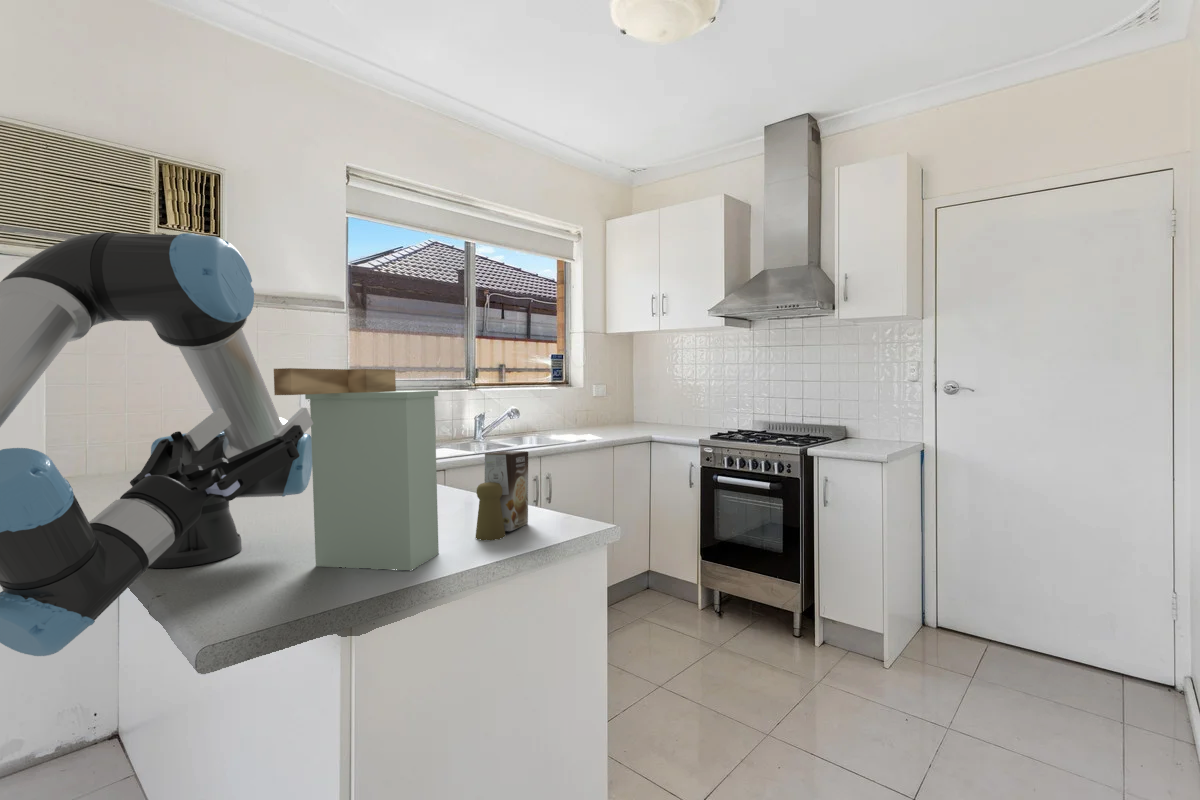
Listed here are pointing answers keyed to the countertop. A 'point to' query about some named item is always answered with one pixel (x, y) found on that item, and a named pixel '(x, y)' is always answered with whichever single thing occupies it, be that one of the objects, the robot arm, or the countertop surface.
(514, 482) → the coffee box
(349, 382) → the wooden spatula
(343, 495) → the sage green shelf box
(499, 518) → the cork
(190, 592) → the countertop surface
